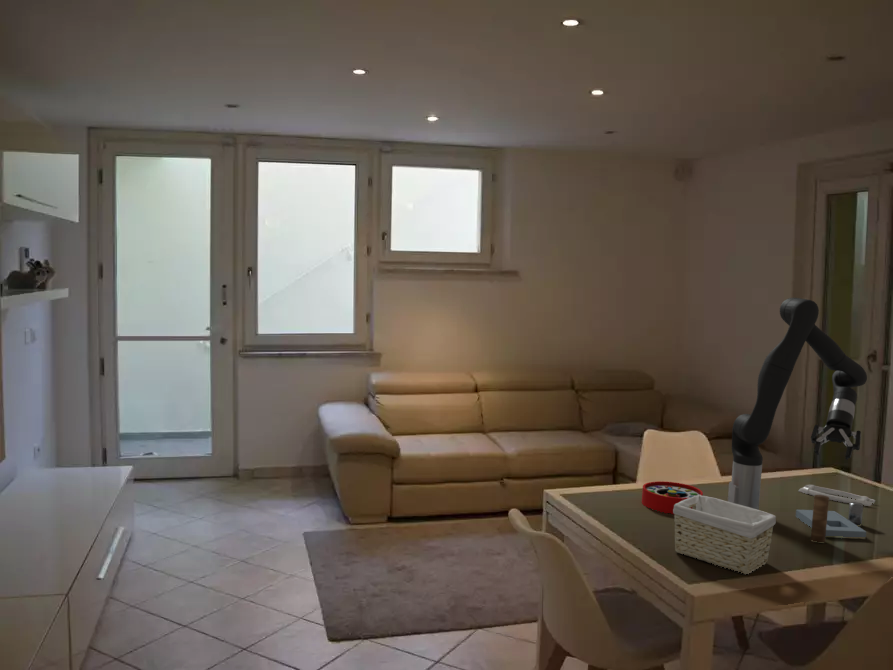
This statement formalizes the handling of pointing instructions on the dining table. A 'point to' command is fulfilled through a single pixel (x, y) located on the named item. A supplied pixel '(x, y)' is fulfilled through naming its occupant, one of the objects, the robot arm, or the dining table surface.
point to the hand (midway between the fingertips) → (832, 455)
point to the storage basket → (723, 533)
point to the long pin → (819, 518)
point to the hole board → (833, 524)
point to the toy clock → (666, 495)
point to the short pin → (855, 513)
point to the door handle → (817, 491)
